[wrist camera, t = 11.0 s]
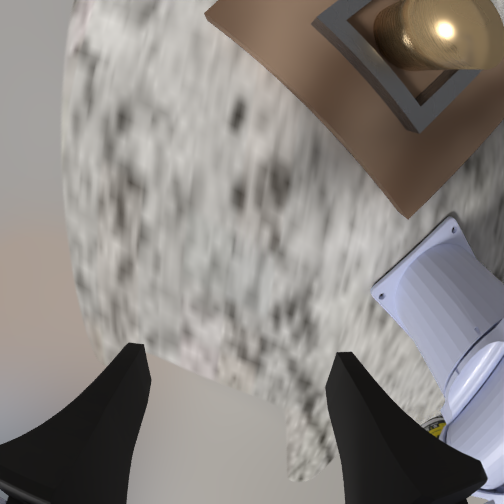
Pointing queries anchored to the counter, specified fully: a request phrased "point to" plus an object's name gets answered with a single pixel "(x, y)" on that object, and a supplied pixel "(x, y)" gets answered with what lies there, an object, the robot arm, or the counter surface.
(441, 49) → the brass cylinder
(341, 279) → the counter surface
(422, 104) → the frame
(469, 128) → the jig plate
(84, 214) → the counter surface
